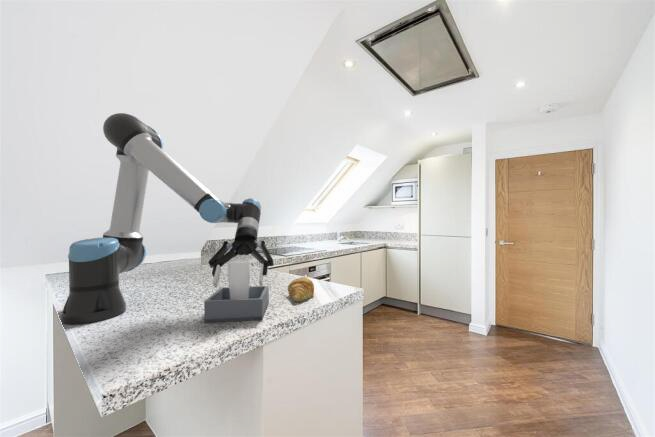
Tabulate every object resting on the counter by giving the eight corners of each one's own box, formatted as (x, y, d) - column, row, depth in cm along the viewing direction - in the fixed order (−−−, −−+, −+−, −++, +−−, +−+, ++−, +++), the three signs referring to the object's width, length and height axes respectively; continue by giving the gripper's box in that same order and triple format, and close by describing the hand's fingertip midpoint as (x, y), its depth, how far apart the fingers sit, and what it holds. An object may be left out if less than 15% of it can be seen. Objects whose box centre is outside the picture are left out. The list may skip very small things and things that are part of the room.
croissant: (304, 314, 93) (315, 293, 93) (278, 300, 93) (289, 279, 93) (311, 295, 114) (320, 278, 114) (290, 284, 115) (299, 267, 114)
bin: (204, 322, 77) (204, 301, 77) (220, 305, 93) (220, 287, 93) (262, 320, 78) (262, 299, 78) (268, 303, 94) (268, 285, 94)
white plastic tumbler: (223, 312, 83) (223, 262, 83) (234, 305, 89) (234, 259, 89) (245, 312, 82) (244, 262, 82) (254, 305, 88) (253, 259, 88)
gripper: (282, 238, 102) (280, 289, 87) (213, 240, 100) (198, 292, 85) (281, 225, 97) (278, 276, 82) (208, 226, 94) (191, 278, 79)
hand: (237, 284), depth 83 cm, fingers open, 13 cm apart
